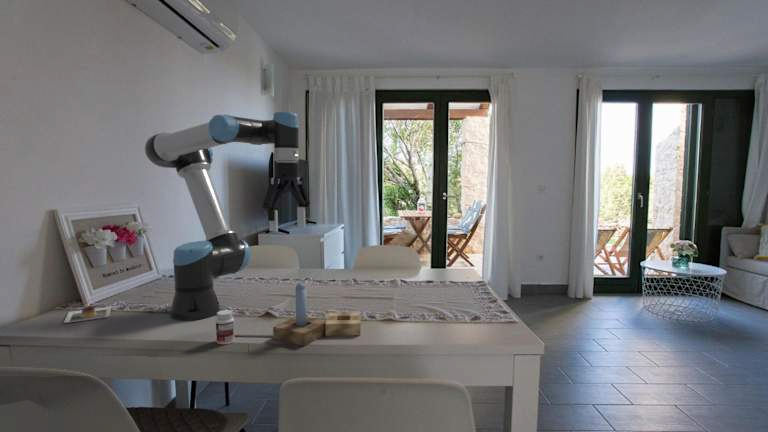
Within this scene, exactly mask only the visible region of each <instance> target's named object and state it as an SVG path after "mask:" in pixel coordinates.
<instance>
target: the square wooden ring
mask: <svg viewBox="0 0 768 432" xmlns="http://www.w3.org/2000/svg"><path fill="white" fill-rule="evenodd" d="M325 323H326V320H323V319H319V318H313V317H309V316H307V326H305V327H303V328H301V327H296V316H293V317H291V318H290V319H287V320H286V321H283V322H280V323H279V324H277V325H274V326H272V331H273V332H272V334H273V337H272V338H273V340H276V339H277V340H278V341H282V342H285V343H289V342H290V343H291V344H294V343H295V344H294V345H298V346H299V345H300V346H304V347H305V346H307V345H310V344H311V343H313V342H314V340H315V341H317V340H318V339H320V338H323V336H326V334H325ZM312 341H313V342H312Z"/></svg>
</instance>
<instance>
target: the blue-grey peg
mask: <svg viewBox="0 0 768 432" xmlns="http://www.w3.org/2000/svg"><path fill="white" fill-rule="evenodd" d="M307 308H308V307H307V286H306V284H305V283H303V282H300V283H297V284H296V286H295V317H296V327H301V328H303V327H305V326H307V317H308V315H307V312H308V309H307Z"/></svg>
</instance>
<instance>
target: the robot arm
mask: <svg viewBox="0 0 768 432" xmlns="http://www.w3.org/2000/svg"><path fill="white" fill-rule="evenodd" d="M299 127H300V125H299V117H298V114H297V113H296V112H293V111H283V110H282V111H275V112H274V113H273V118H272V119H266V120H260V119H255V118H248V117H247V118H246V117H241V116H233V115H230V114H216V115H213V116H212V118H211V119H210V120H209V122H206V123H202V124H198V125H195V126H192V127H188V128H185V129H181V130H179V131H174V132H171V133H170V132H165V131H164V132H160V133H156V134H154V135H152V136H151V137H150V138H148V139H147V140H146V142H145V145H144V152H145V155H146V157H147V159H148V161H150V162H151V163H152V164H154V165H156V166H157V167H161V168H168V169H170V168H171V169H172V168H173V169H175V170H176V172H177V175H178V177H179V178H182V179H184V181H185V184H186V186H187V189H188V193H189V195H190V197H191V200H192V204H193V206H194V208H195V212H196V214H197V217H198V219H199V222H200V225H201V227H202V230H203V232H204V235H205V236H204V237H205V240H197V241H190V242H187V243H183V244H181V245H179V246H177V247H176V248H175V249H174V250H173V259H172V263H173V276H174V296H173V299H172V302H171V306H170V309H169V316H170V318H171V319H173V320H179V321H195V320H196V321H197V320H201V319H207V318H209V317H213V316H215V315H217V312H219V311H221V310H220V307H221V305H220V302H219V300H218V297H217V295H216V291H215V289H214V279H215V278H218V277H223V276H226V275H231V274H232V275H233V274H236V273H238V272H241V271H243V270H245V269H246V268H247V267H248V265H249V263H250V260H251V249H250V246H249V244H248V242H247V241H245V240H244V239H242V238H241V239H240V238H239V237H238V233H237V232H236V231H234V230H232V229H231V228H230V225H229V223H228V219H227V217H226V215H225V212H224V209H223V206H222V205H221V201H220V199H219V195H218V194H217V191H216V188H215V186H214V183H213V181H212V178H211V175H210V172H209V171H210V170H211V168H212V167H211V166H212V163H213V160H214V158H213V157H214V153H213V149H212V148H214V147H217V146H222V145H227V144H230V143H244V144H250V145H255V146H256V145H258V146H261V145H273V147H274V149H273V150H274V151H273V152H274V155H273V156H274V159H273V160H274V161H275V163H274V175H276V177H270V178H269V179H268V180H269V181H268V182H269V183H268V184H269V185H268V187H267V190H266V194H265V197H264V200H263V203H262V209H264V211H265V210H266V211H267V220H268V222H269V224H268V225H269V227H268V229H269V232H275V233H277V232H279V226H278V225H279V224H278V223H279V218H278V217H279V216H278V215H279V214H278V210H276V209H277V207H278V205H279V204H280V201H281V199H282V197H283V195H284V194H285V193H288V192H289V193H291V195H292V196H293V199H294V200H295V202H296V203H297V205H298V206H297V207H296V208H297V209H296V213H297V215H296V217H297V227H299V228H305V227H306V216H307V213H306V209H307V208H309V205H311V202H310V201H311V200H310V198H309V195H308V192H307V189H306V185H305V181H304V177H302V176H301V177H300V176H299V177H297V176H298V175H299V174H300V164H299V160H300V159H299V158H300V155H299V154H300V153H299V148H300V147H299Z"/></svg>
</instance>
